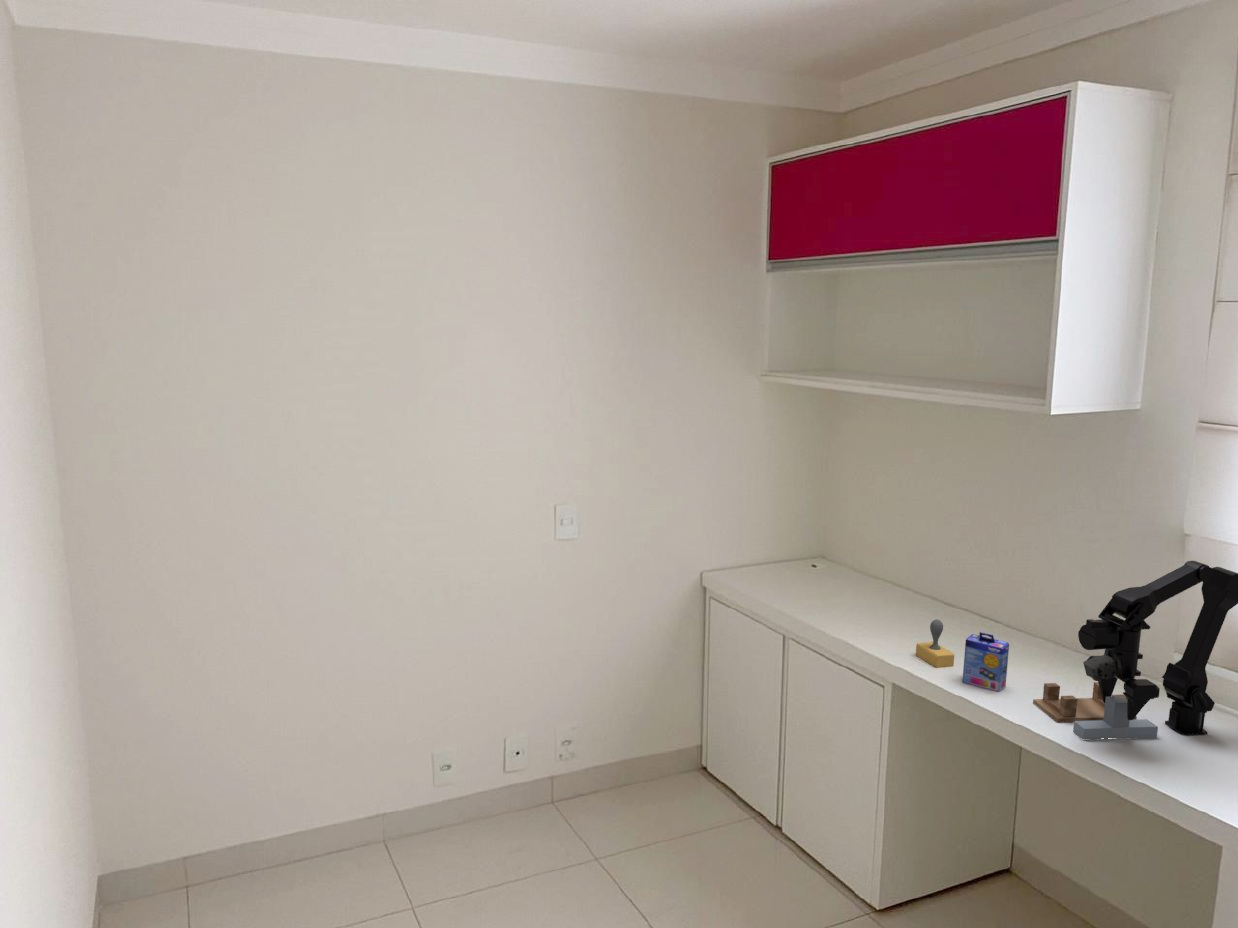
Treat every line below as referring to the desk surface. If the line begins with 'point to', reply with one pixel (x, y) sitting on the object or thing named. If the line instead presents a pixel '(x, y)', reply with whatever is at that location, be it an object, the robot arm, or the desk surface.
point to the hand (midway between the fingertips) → (1117, 710)
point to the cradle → (1072, 705)
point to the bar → (1115, 723)
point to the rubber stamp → (935, 648)
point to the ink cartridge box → (985, 662)
